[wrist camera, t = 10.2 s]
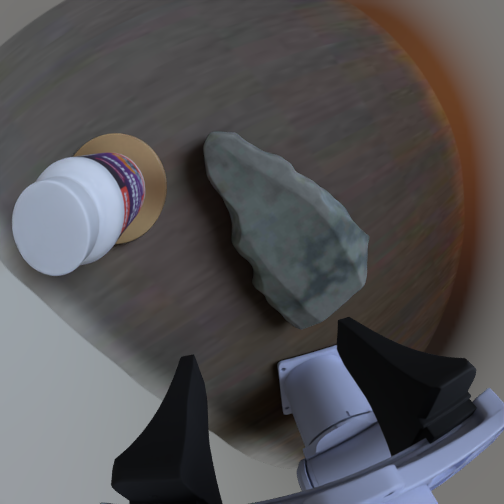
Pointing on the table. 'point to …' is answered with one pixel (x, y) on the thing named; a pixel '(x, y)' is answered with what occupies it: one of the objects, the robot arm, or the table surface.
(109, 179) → the pill bottle
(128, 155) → the coaster
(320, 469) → the robot arm
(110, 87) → the table surface
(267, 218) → the stone
